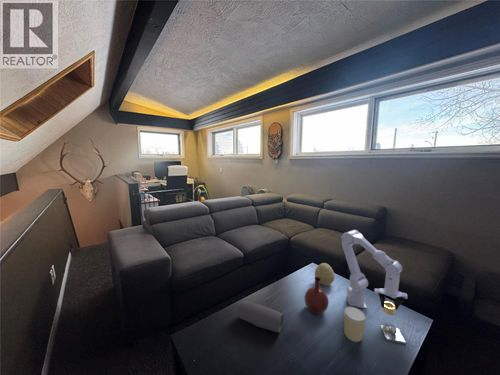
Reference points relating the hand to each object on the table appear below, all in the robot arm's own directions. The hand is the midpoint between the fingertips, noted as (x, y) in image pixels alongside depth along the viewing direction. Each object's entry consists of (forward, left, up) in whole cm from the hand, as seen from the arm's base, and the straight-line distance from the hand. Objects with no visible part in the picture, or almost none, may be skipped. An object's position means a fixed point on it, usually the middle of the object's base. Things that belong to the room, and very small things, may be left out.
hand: (388, 307), depth 105 cm
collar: (0, 0, -2) cm, 2 cm away
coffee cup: (-20, -14, -8) cm, 26 cm away
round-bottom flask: (-37, -2, -8) cm, 38 cm away
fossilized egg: (-30, +25, -8) cm, 40 cm away
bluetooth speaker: (-66, -20, -8) cm, 69 cm away
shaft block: (-1, -9, -8) cm, 12 cm away
